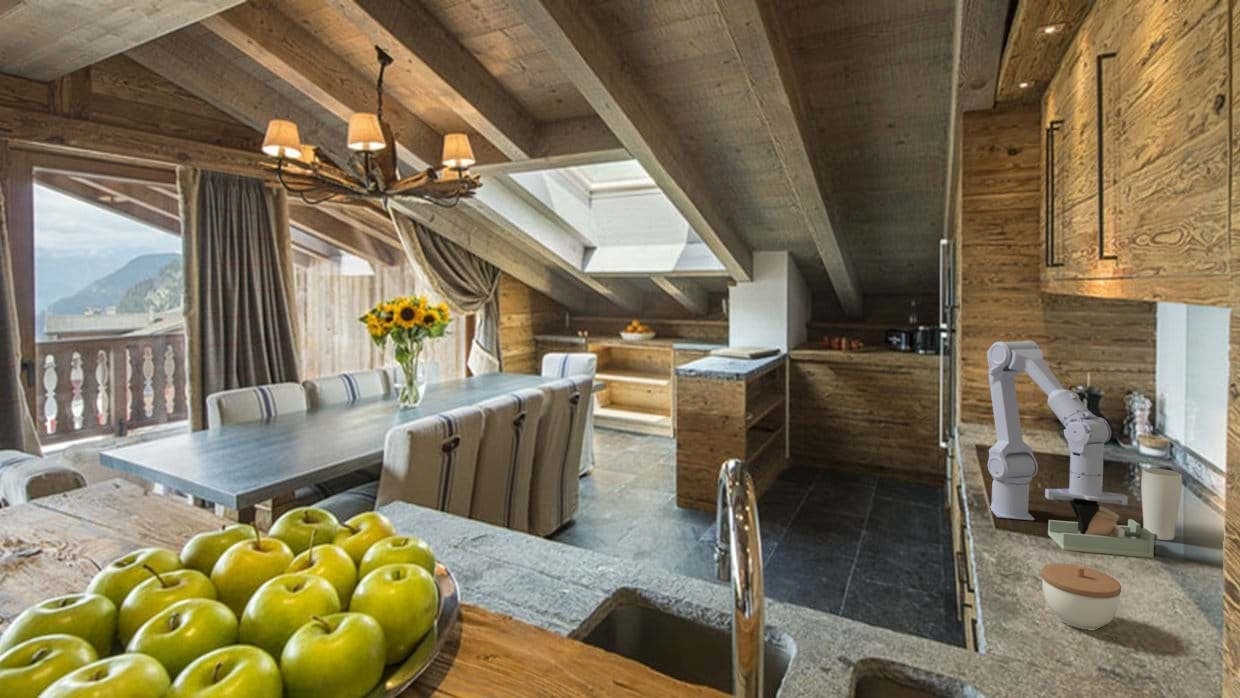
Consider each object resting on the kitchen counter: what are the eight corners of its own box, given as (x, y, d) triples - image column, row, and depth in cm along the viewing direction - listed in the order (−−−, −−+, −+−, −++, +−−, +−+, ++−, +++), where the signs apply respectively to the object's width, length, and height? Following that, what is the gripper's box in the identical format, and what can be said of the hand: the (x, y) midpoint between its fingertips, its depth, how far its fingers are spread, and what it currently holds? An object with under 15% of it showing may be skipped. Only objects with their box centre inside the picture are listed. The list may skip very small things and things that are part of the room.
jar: (1073, 528, 135) (1085, 501, 134) (1100, 537, 134) (1113, 510, 132) (1081, 538, 130) (1094, 511, 129) (1110, 548, 129) (1123, 520, 127)
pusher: (1104, 535, 134) (1104, 519, 134) (1147, 538, 132) (1148, 522, 131) (1118, 546, 128) (1118, 529, 128) (1164, 550, 126) (1164, 533, 125)
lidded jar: (1042, 598, 109) (1044, 549, 109) (1118, 617, 103) (1121, 564, 102) (1037, 624, 101) (1039, 570, 100) (1119, 646, 94) (1122, 588, 94)
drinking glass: (1180, 545, 131) (1184, 478, 130) (1140, 538, 135) (1143, 473, 134) (1176, 535, 137) (1180, 471, 135) (1137, 528, 141) (1140, 466, 139)
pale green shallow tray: (1047, 534, 139) (1048, 513, 138) (1131, 541, 134) (1132, 519, 133) (1063, 549, 130) (1064, 527, 130) (1153, 557, 125) (1154, 534, 125)
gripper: (1053, 474, 130) (1052, 536, 130) (1135, 479, 125) (1133, 543, 126) (1042, 467, 136) (1041, 525, 137) (1119, 471, 132) (1117, 532, 132)
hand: (1084, 533), depth 132 cm, fingers closed, pressing on jar
